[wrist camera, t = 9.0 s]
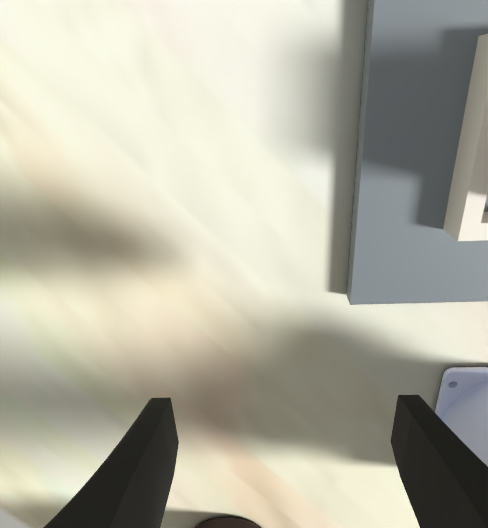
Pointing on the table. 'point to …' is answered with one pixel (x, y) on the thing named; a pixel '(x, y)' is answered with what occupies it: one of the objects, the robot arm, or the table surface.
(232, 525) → the bottle
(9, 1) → the table surface
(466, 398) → the robot arm
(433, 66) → the holder
